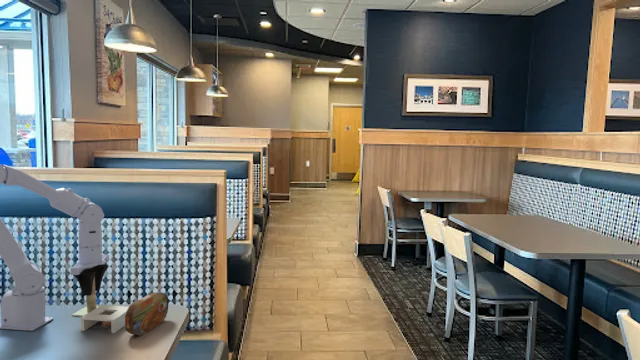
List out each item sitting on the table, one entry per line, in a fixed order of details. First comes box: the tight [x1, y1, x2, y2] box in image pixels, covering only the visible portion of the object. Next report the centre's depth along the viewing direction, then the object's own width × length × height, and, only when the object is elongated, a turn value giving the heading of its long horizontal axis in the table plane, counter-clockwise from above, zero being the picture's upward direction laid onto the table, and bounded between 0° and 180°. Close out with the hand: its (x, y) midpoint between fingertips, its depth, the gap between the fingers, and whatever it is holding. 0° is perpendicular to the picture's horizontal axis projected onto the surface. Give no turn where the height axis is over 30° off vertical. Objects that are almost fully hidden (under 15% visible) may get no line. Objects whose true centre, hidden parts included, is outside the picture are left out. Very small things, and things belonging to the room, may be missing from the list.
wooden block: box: [85, 276, 97, 312], centre depth 126 cm, size 2×2×10 cm
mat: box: [71, 305, 100, 318], centre depth 126 cm, size 7×7×1 cm
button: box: [101, 321, 111, 326], centre depth 118 cm, size 3×3×2 cm
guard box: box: [80, 304, 129, 334], centre depth 118 cm, size 9×9×4 cm
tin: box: [124, 291, 169, 336], centre depth 116 cm, size 15×3×8 cm, turn 165°
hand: (91, 292), depth 126 cm, fingers open, 3 cm apart
